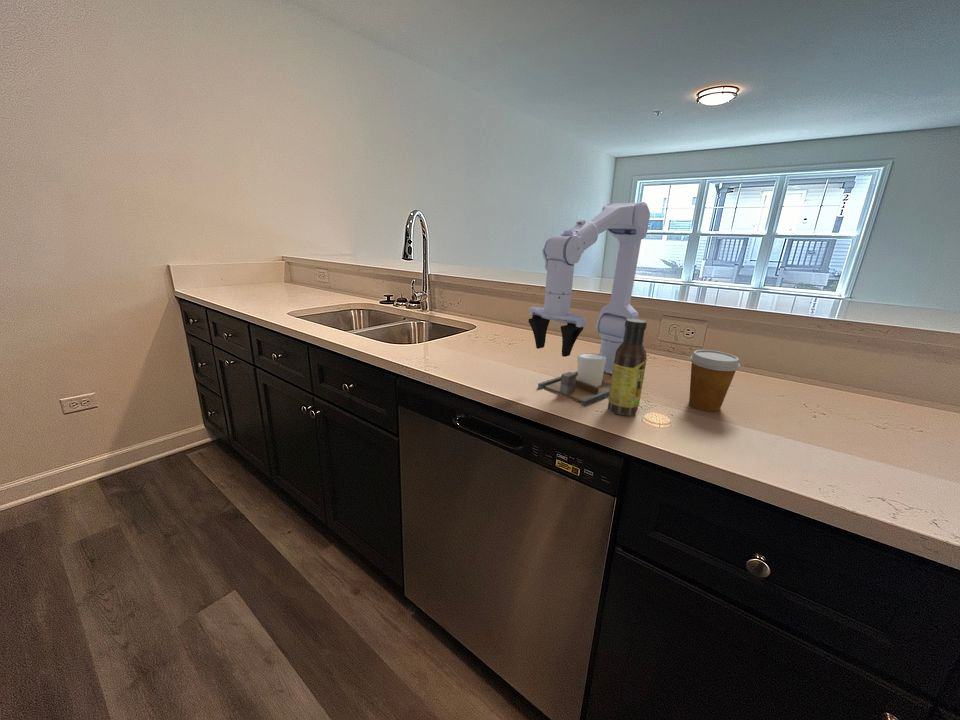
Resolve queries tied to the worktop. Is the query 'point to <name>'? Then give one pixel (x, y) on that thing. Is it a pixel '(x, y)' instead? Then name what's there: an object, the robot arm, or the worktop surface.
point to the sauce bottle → (628, 370)
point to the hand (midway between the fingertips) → (552, 351)
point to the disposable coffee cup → (711, 378)
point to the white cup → (591, 368)
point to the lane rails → (583, 402)
